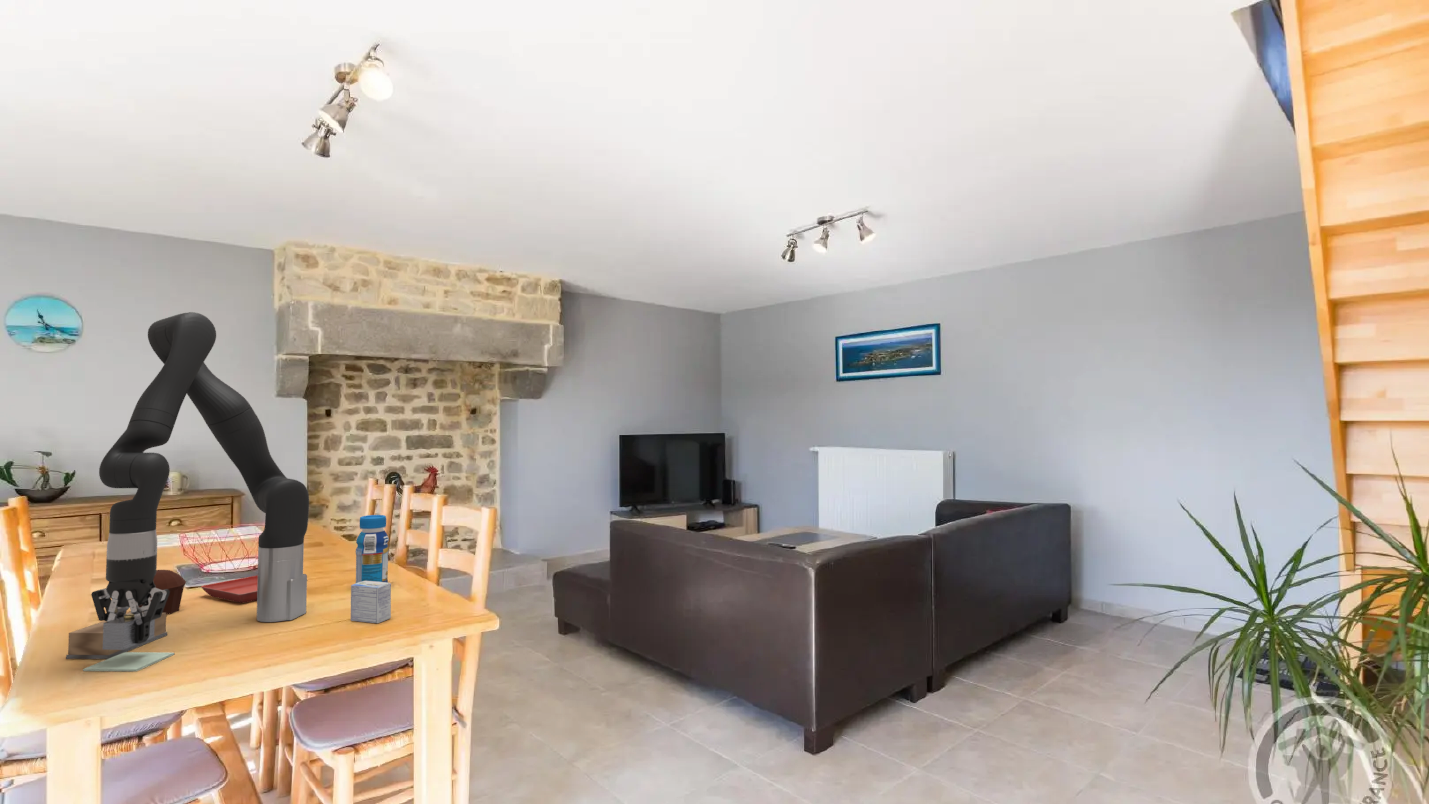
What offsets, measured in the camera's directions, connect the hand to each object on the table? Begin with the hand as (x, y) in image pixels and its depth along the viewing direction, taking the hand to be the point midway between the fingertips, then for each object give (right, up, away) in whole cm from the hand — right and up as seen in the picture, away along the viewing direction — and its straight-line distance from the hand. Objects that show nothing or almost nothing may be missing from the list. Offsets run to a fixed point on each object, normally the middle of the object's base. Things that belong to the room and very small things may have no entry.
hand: (129, 641), depth 132 cm
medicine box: (+33, -5, +29) cm, 44 cm away
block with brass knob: (0, 0, 0) cm, 0 cm away
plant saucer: (-10, -6, +51) cm, 52 cm away
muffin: (-22, -5, +33) cm, 40 cm away
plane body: (-10, -4, +9) cm, 14 cm away
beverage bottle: (+18, -6, +58) cm, 61 cm away
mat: (0, -4, 0) cm, 4 cm away
